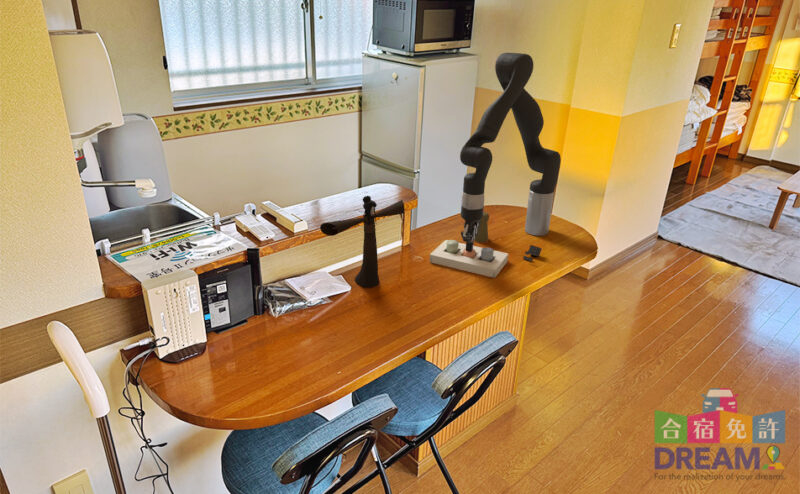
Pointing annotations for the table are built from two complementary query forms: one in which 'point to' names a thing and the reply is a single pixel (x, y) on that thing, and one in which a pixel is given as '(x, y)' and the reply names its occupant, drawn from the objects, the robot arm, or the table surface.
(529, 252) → the building blocks
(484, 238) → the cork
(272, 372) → the table surface
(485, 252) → the slate button
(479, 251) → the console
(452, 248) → the pale green rounded piece
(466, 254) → the terracotta button
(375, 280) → the outstretched arms figurine
